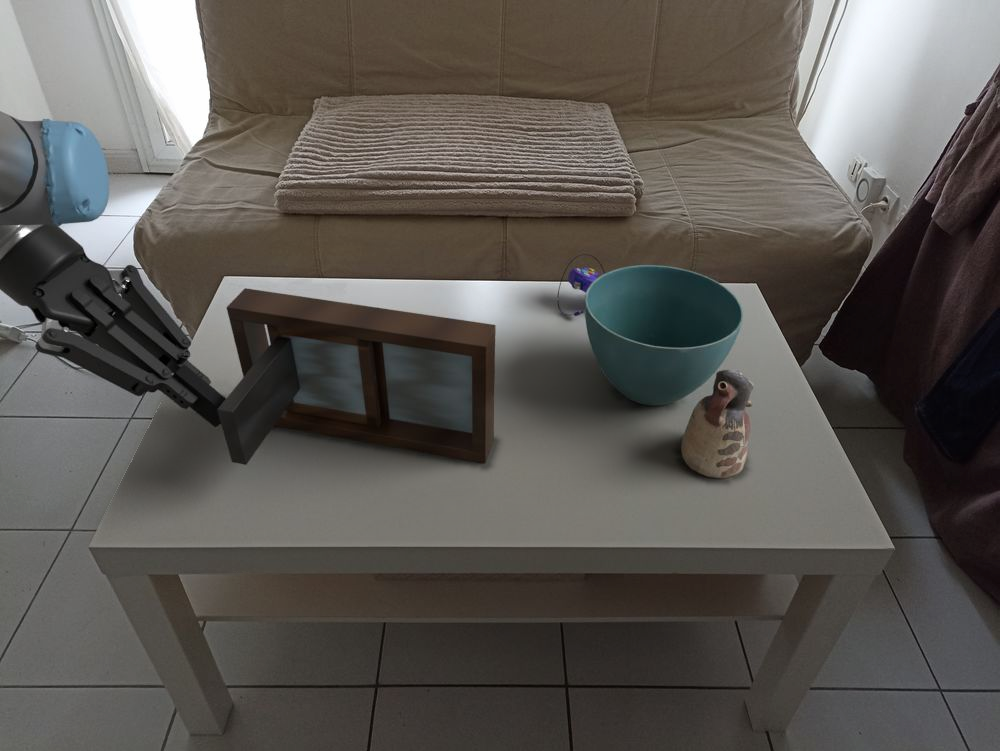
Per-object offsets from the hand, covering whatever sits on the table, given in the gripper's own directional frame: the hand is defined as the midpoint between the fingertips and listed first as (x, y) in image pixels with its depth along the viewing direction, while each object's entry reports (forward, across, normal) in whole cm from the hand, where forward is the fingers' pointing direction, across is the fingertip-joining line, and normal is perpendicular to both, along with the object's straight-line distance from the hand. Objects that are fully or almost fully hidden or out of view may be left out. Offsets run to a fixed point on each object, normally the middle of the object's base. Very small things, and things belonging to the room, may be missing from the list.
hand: (226, 417), depth 75 cm
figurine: (+41, -16, +28) cm, 53 cm away
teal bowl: (+36, -28, +23) cm, 50 cm away
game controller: (+30, -43, +16) cm, 55 cm away
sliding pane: (+9, -4, -1) cm, 10 cm away
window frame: (+14, -11, +1) cm, 18 cm away
